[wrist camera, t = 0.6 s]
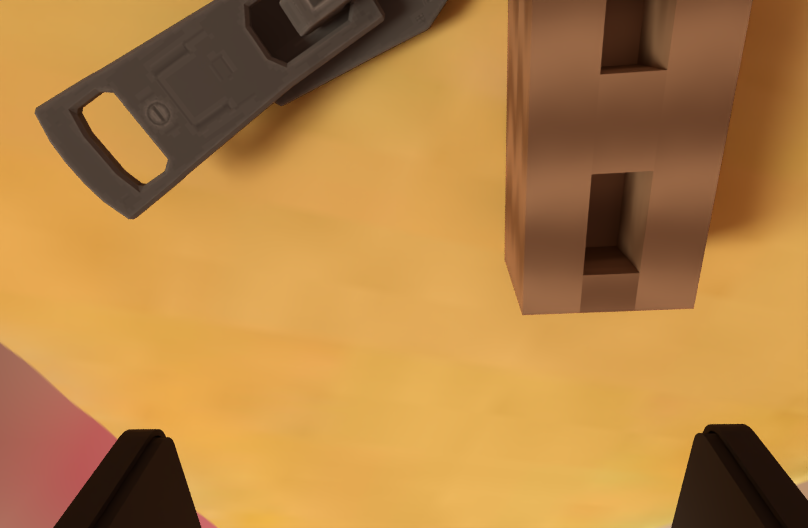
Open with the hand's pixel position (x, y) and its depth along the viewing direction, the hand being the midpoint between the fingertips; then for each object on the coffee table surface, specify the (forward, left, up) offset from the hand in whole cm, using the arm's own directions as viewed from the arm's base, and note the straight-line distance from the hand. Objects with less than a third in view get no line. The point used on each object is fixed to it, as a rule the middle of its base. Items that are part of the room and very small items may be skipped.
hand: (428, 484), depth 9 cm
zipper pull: (-7, -10, -29) cm, 31 cm away
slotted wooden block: (-2, +10, -28) cm, 30 cm away
